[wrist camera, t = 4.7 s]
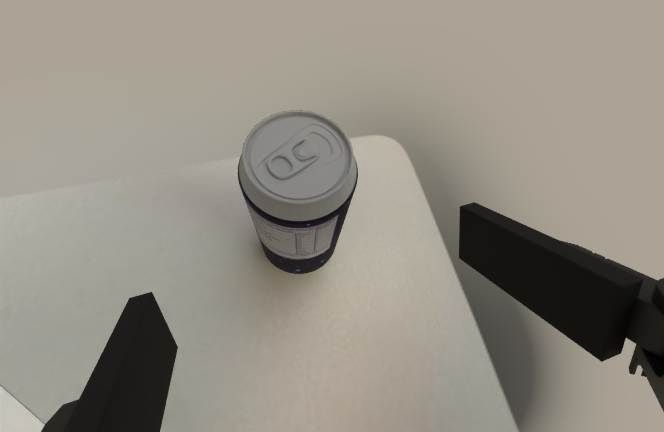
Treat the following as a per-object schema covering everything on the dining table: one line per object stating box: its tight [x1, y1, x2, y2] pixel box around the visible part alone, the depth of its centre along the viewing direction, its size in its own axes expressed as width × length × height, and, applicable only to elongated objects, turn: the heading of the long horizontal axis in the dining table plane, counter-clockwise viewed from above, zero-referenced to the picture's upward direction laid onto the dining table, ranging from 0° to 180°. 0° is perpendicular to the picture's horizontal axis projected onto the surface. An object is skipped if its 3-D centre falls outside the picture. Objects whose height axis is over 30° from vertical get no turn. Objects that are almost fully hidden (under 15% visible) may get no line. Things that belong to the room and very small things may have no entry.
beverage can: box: [238, 110, 358, 274], centre depth 19 cm, size 6×6×12 cm
